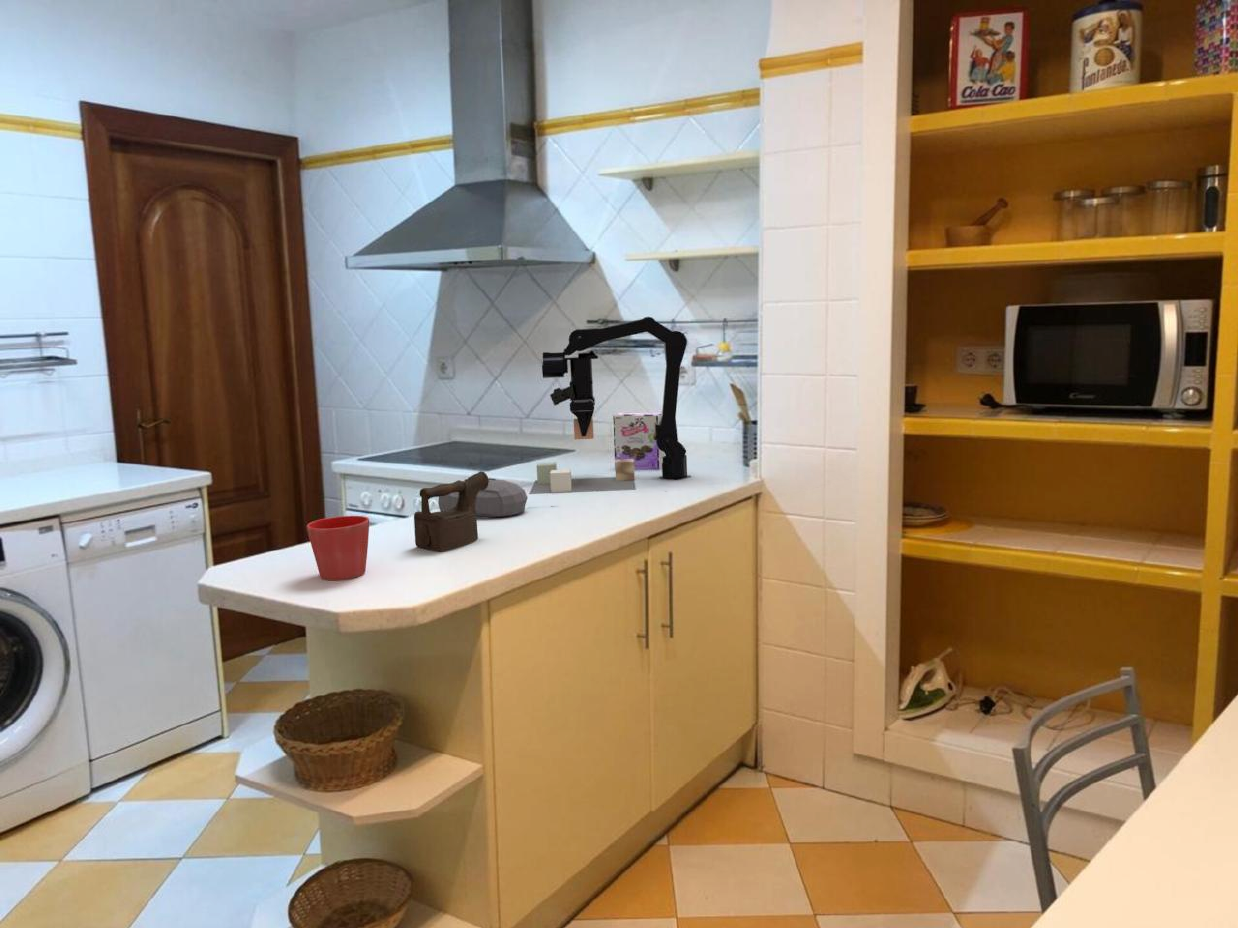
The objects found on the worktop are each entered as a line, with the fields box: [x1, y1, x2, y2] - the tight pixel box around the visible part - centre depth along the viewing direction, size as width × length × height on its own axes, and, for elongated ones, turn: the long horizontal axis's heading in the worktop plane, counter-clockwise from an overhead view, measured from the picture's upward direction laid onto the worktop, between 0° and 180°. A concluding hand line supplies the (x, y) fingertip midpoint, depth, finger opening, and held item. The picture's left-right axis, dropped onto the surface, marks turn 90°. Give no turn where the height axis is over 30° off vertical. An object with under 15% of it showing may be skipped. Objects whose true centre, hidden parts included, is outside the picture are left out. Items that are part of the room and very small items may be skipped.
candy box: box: [613, 412, 666, 471], centre depth 277 cm, size 14×6×16 cm, turn 68°
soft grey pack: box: [438, 477, 529, 518], centre depth 222 cm, size 15×8×20 cm
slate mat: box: [528, 476, 637, 495], centre depth 252 cm, size 27×21×1 cm
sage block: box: [536, 461, 558, 484], centre depth 258 cm, size 5×5×5 cm
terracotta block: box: [573, 417, 594, 440], centre depth 257 cm, size 5×5×5 cm
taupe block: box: [550, 468, 572, 494], centre depth 245 cm, size 5×5×5 cm
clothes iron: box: [413, 470, 489, 553], centre depth 191 cm, size 8×16×13 cm, turn 138°
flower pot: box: [306, 515, 370, 581], centre depth 170 cm, size 11×11×10 cm
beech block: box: [614, 459, 636, 481], centre depth 259 cm, size 5×5×5 cm
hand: (584, 434), depth 257 cm, fingers closed on terracotta block, 5 cm apart
